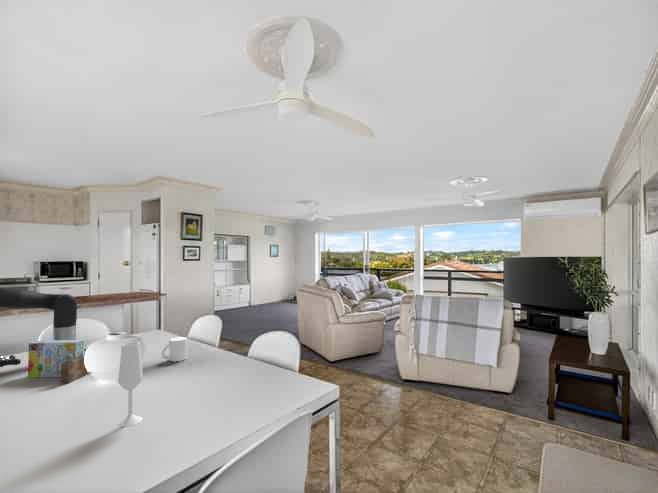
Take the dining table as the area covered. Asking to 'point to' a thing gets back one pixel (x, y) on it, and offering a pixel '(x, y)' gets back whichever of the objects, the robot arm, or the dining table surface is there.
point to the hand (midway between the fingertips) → (19, 361)
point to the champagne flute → (130, 378)
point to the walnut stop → (73, 369)
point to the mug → (176, 349)
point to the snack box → (51, 356)
